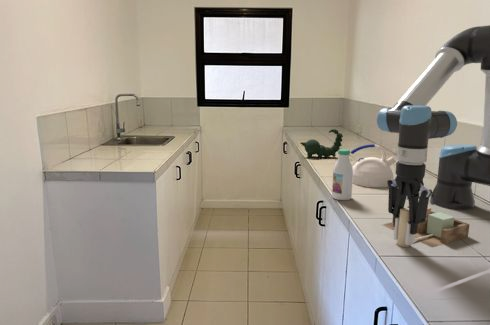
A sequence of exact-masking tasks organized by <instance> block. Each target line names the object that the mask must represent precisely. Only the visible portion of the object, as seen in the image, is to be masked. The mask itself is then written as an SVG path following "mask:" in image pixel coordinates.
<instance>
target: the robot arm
mask: <svg viewBox="0 0 490 325" xmlns="http://www.w3.org/2000/svg"><path fill="white" fill-rule="evenodd" d="M469 64H480V71H481V72H482V73H483V74H484V75H485V82H484V83H485V84H484V86H485V88H484V103H483V104H484V105H483V106H484V107H483V110H484V111H483V128H482V129H483V130H482V144H481V145H479V147H477V146H476V145H475V144H452V145H451V144H450V145H445V146H443V147H442V148H441V149H440V153H439V156H438V169H437V180H436V184H435V186H434V188H433V190H432V189H431V188H430V189H428V188H426V187H425V184H424V178H425V175H426V162H427V157H428V156H427V155H428V146H429V145H428V144H429V140H431V139H439V138H440V139H442V138H445V137H448V136H451V135H452V134H454V132H455V131H456V130H457V127H458V120H457V117H456V115H455V114H453V112H451V111H448V110H437V111H435V110H432V108H431V107H430V106H429V105H428V104H429V103H430V101H431V100H432V99H433V98H434V97H435V96H436V95H437V93H438V92H440V89H442V88H443V86H444V85H445V84H446V83H447V81H449V79H450V78H451V77H452V76H453V74H454V73H457V72H458V71H460V70H462V68H464V66H467V65H469ZM376 125H377V127H378V129H380V130H381V131H383V132H387V133H393V134H394V133H395V134H398V141H397V149H396V150H397V152H396V155H397V156H396V162H395V171H394V172H395V175H396V176H395V178H393V180H388V181H387V183H388V187H387V188H388V202H387V204H388V207H387V208H388V209H387V210H388V213H389V214H391V215H392V217H393V216H394V221H393V220H392V222H393V226H394V227H395V230H393V231H394V232H393V240H395V241H396V240H397V239H398V228H399V217H400V209H401V208H405V205H406V200H408V206H409V217H410V222H408V223H407V229H406V239H405V244H406V245H413V244H415V241H414V237H415V234H416V233H417V228H418V224H420V223H423V222H425V219H426V213H427V208H428V207H429V202H430V204H431V205H433V206H434V205H435V206H438V207H440V208H445V209H450V210H460V211H462V210H471V209H474V208H475V204H476V200H475V197H474V196H475V195H474V192H473V189H472V185H473V183H474V184H479V185H483V186H487V187H490V24H488V25H481V26H473V27H470V28H467V29H465V30H463V31H460V32H459V33H457V34H456V35H455V36H453V37H452V38H450V39H449V40H448V41H446V42H445V43H444V44H443V45H442V46H441V47H440V48H439V49H438V51H436V53H435V56H434V59H433V60H432V62H431V63H430V64H429V65H428V66H427V68H426V69H425V70H424V71H423V72H422V74H420V76H419V77H418V78H417V79H416V80H415V82H414V83H412V84H411V86H410V87H409V88H408V89H407V90H406V91H405V93H404V94H403V95H402V96H401V97H400V98H399V99H398V101H396V103H395V104H394V105H393V107H383V108H381V109H380V110H379V111H378V113H377V116H376Z"/></svg>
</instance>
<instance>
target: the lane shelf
mask: <svg viewBox="0 0 490 325" xmlns="http://www.w3.org/2000/svg"><path fill="white" fill-rule="evenodd" d="M433 213H436V212H435V211H432V210H431V214H433ZM393 221H394V216H393V215H392V222H387V223H383V224H382V226H383V227H385V228H388V229H390V230H393V231H394V230H395V227H394V226H393ZM427 224H428V217H426V219H425V222H423V223H420V224H418V228H417V233H416V234H415V237H414V239H416V238H420V237H423V236H427V235H431V234H428V233H427ZM470 225H471V224H470V223H467V222H464V221H461V220H459V219H456V218H454V224H453V227H449V228H445V229H442V231H441V239H440V238H438V237H436V236H431V237H428V238H424V239H420V240H417V241H418V242H419V243H421V244H424V245H426V246H428V247H431V248H434V247H437V246H441V245H445V244H448V243H451V242H455V241H458V240H462V239H465V238H468V237H469V230H470ZM417 241H416V242H417Z"/></svg>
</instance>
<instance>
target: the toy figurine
mask: <svg viewBox="0 0 490 325" xmlns="http://www.w3.org/2000/svg"><path fill="white" fill-rule="evenodd" d="M328 133H329V134H330V133H333V134H335V135H336V137H335V138H334V139H335V140H334V142H333V144H332V145H331V147H328V146H325V145H322V144H320V142H319V141H318V140H316V139H309V140H307V141H306V142H300V145H301V146H303V147H304V151H305V152H306V153H307V154H306V155H307V157H308V158H312V157H313V156H314V155H315V156H317V157H318V158H322V157H325V159H329V157H331V156H332V157H336V156H337V155H336V153H338V150H340V149H341V148H340V147H342V142H343V139H342V138H343V137H344V136H343V134H342V132H339V131H338V130H337V129H335V128H333V129H332V128H331V129H330V130H329V131H328Z"/></svg>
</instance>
